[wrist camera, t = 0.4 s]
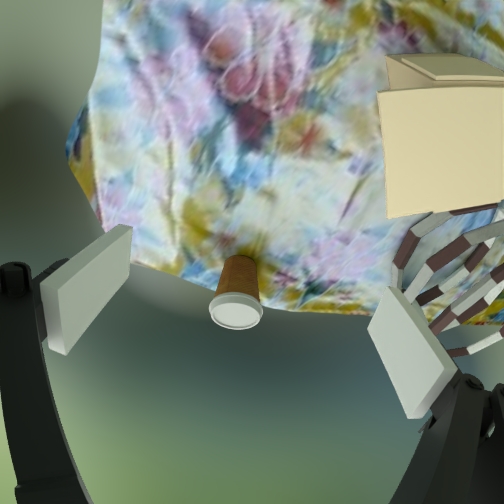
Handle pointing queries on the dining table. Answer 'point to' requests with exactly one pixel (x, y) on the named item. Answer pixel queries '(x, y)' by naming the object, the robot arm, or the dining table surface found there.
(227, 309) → the disposable coffee cup
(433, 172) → the flap
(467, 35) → the dining table surface
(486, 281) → the white brown ornate frame
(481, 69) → the carton
